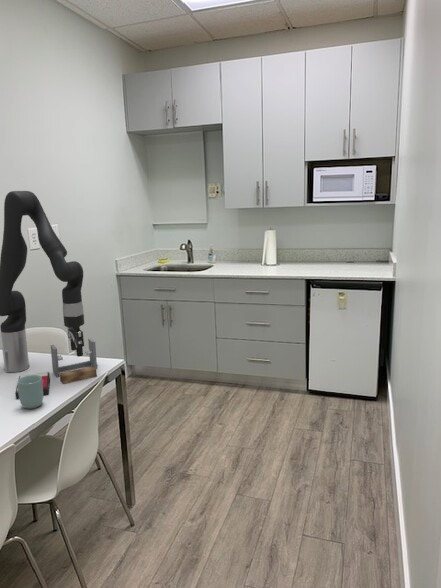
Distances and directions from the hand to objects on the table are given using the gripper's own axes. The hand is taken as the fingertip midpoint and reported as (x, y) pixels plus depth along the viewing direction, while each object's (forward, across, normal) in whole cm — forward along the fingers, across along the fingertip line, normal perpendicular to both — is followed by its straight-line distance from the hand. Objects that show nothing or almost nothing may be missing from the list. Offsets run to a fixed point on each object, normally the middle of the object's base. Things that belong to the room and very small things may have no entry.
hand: (77, 353), depth 173 cm
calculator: (+11, 0, -17) cm, 21 cm away
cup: (+11, +15, -20) cm, 27 cm away
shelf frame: (+11, -9, +1) cm, 14 cm away
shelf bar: (+11, 0, 0) cm, 11 cm away
